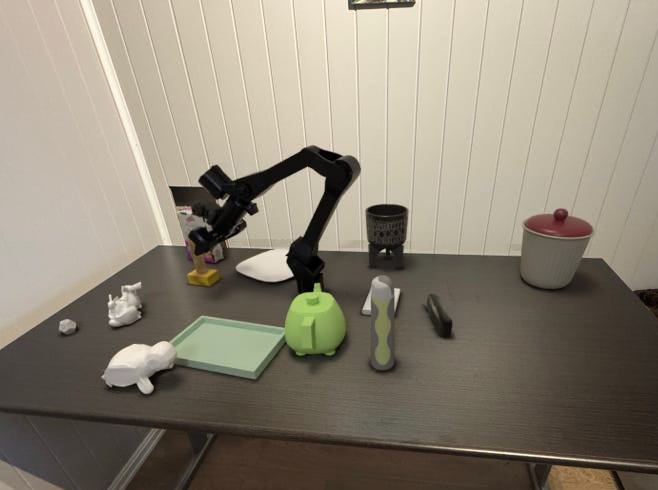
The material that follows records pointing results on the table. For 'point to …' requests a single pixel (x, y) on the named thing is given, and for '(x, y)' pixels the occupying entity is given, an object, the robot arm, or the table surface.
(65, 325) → the game die
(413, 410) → the table surface
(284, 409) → the table surface
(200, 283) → the sponge wand
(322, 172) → the robot arm
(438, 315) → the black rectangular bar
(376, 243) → the planter
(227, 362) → the tray
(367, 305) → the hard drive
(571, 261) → the canister
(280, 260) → the plate
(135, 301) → the white figurine
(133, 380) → the white turtle figurine
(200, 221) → the candy bar box
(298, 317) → the teapot
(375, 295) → the grey green cylinder
